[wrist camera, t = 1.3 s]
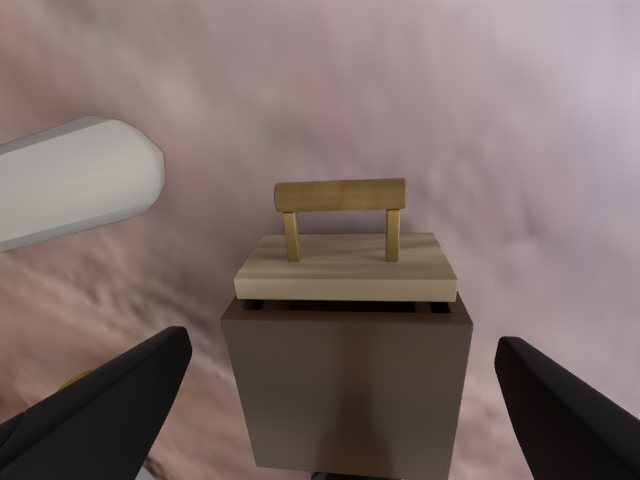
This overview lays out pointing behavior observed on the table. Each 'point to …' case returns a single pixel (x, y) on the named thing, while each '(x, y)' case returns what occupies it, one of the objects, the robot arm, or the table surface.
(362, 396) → the cabinet
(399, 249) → the drawer
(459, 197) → the table surface
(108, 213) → the white bowling pin
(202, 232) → the table surface
